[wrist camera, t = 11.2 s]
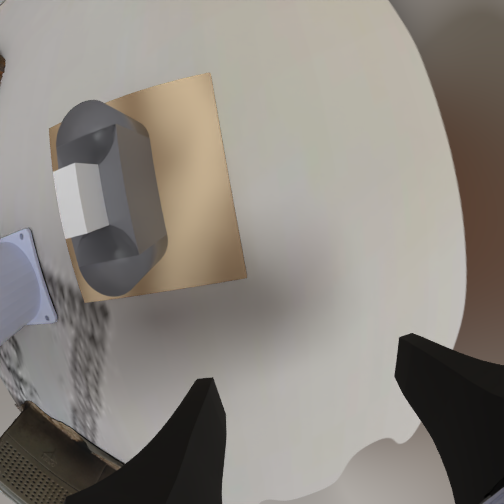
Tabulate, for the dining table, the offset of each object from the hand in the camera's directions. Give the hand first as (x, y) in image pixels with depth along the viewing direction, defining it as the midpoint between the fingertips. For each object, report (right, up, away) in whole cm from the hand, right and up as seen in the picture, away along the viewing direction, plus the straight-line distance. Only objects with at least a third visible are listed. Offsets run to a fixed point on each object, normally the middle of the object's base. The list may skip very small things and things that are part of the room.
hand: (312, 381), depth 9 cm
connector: (-10, +8, +6) cm, 14 cm away
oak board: (-10, +9, +7) cm, 15 cm away
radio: (-23, -22, +15) cm, 35 cm away
